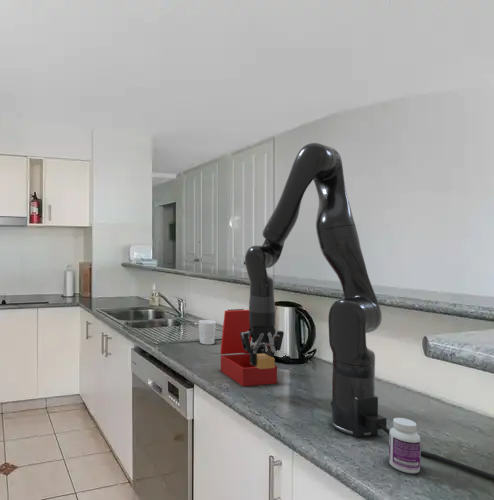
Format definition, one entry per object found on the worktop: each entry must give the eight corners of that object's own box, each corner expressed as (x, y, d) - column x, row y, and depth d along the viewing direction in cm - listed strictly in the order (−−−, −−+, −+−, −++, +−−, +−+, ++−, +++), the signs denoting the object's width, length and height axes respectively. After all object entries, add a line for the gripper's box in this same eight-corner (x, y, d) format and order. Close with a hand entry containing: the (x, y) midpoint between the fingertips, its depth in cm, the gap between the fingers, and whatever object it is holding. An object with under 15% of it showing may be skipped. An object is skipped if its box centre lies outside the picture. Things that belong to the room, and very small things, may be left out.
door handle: (255, 359, 150) (293, 355, 152) (232, 345, 170) (266, 342, 172) (255, 368, 150) (294, 363, 152) (232, 353, 170) (267, 349, 172)
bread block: (274, 367, 120) (274, 358, 120) (260, 369, 118) (260, 359, 118) (264, 362, 125) (264, 353, 125) (250, 363, 124) (249, 354, 124)
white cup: (205, 339, 190) (205, 319, 189) (219, 343, 183) (219, 321, 183) (194, 342, 184) (195, 321, 184) (208, 346, 178) (208, 324, 178)
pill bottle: (427, 474, 80) (427, 427, 80) (402, 475, 80) (402, 428, 80) (406, 459, 86) (407, 415, 85) (382, 460, 85) (383, 416, 85)
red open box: (277, 383, 131) (277, 366, 131) (242, 386, 129) (242, 368, 129) (251, 368, 147) (251, 353, 147) (220, 370, 144) (220, 355, 144)
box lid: (257, 310, 142) (250, 305, 147) (226, 311, 140) (219, 306, 145) (252, 352, 146) (245, 346, 151) (221, 354, 143) (215, 347, 148)
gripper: (247, 312, 116) (247, 370, 117) (290, 310, 120) (290, 366, 120) (234, 309, 124) (234, 362, 124) (275, 307, 127) (275, 359, 127)
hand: (262, 364), depth 122 cm, fingers closed on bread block, 5 cm apart
